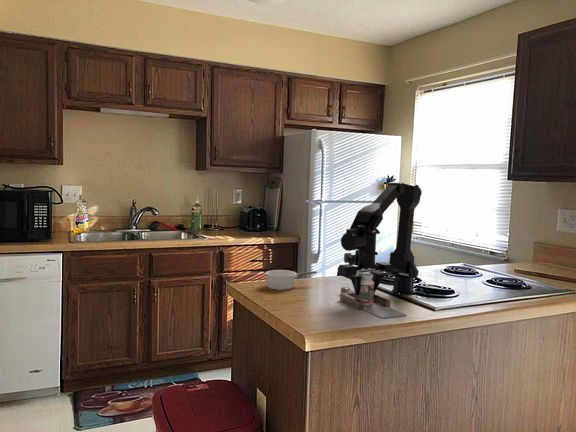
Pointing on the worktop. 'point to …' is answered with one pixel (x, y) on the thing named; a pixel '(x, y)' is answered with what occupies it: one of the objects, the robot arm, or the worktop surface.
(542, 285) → the worktop surface
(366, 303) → the pill bottle
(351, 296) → the ball knob bracket
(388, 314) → the coaster
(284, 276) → the saucepan
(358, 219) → the robot arm
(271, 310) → the worktop surface
